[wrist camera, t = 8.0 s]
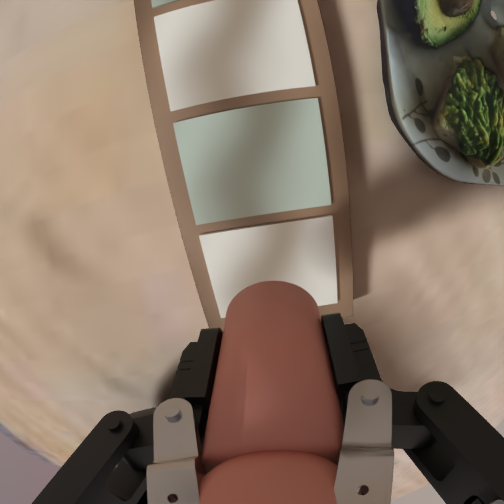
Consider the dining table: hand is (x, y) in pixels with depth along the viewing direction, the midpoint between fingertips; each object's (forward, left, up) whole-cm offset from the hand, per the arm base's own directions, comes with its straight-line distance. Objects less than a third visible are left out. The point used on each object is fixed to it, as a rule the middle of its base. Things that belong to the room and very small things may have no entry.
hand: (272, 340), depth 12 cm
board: (0, -9, -7) cm, 12 cm away
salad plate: (-16, -12, -8) cm, 21 cm away
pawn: (0, 0, -1) cm, 1 cm away
